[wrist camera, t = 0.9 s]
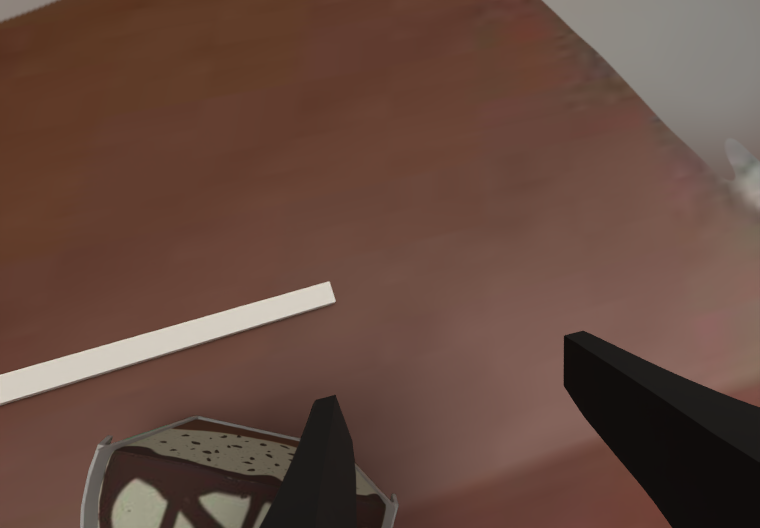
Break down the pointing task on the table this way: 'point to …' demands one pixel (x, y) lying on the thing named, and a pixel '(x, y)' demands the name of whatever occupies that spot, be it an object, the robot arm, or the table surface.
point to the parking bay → (159, 343)
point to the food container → (202, 479)
